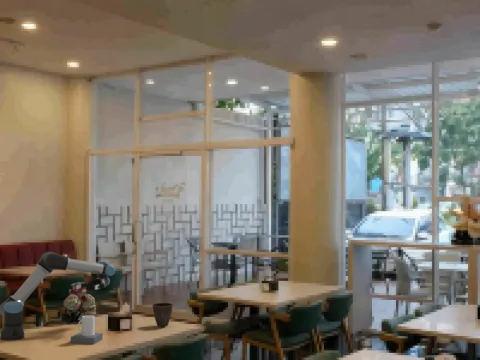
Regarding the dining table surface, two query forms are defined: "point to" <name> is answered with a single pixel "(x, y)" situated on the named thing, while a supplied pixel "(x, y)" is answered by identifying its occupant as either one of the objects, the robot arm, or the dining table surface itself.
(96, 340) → the base block
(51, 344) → the dining table surface
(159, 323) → the plant pot
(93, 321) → the mug
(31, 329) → the dining table surface
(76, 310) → the rose bouquet
